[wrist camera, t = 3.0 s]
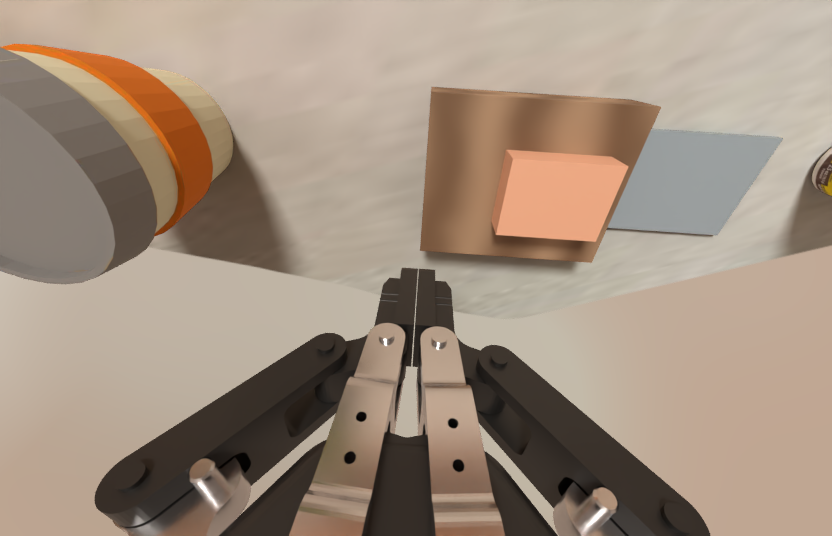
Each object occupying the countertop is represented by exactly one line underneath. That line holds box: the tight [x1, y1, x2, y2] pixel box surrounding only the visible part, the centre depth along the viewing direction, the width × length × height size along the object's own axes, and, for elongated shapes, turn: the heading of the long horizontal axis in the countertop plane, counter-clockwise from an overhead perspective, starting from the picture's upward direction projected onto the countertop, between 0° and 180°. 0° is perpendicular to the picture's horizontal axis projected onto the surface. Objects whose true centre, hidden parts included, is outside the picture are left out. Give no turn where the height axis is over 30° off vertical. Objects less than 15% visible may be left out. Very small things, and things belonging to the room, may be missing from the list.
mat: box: [607, 129, 783, 235], centre depth 28 cm, size 13×9×1 cm
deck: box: [420, 87, 661, 263], centre depth 27 cm, size 16×13×4 cm
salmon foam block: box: [491, 150, 629, 242], centre depth 24 cm, size 8×6×2 cm
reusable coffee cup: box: [0, 44, 234, 284], centre depth 22 cm, size 12×13×15 cm
